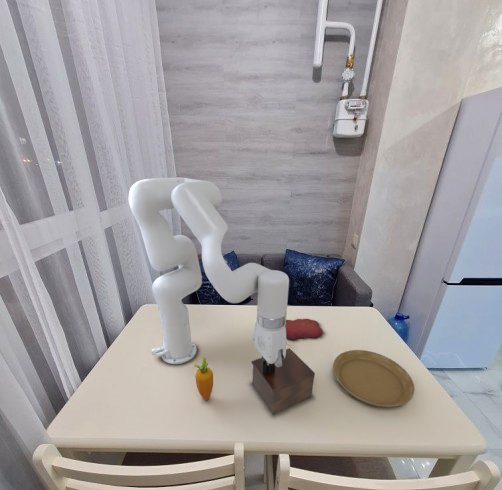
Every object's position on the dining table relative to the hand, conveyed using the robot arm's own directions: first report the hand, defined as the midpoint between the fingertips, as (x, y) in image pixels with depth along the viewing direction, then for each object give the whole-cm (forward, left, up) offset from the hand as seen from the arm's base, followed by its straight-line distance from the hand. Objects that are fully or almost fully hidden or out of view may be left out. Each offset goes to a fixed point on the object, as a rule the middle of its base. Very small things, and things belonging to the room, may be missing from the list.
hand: (268, 371), depth 76 cm
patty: (+31, +24, -10) cm, 40 cm away
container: (+5, 0, -10) cm, 11 cm away
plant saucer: (+33, -10, -10) cm, 36 cm away
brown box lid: (+5, 0, -1) cm, 5 cm away
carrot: (-17, +7, -10) cm, 21 cm away
